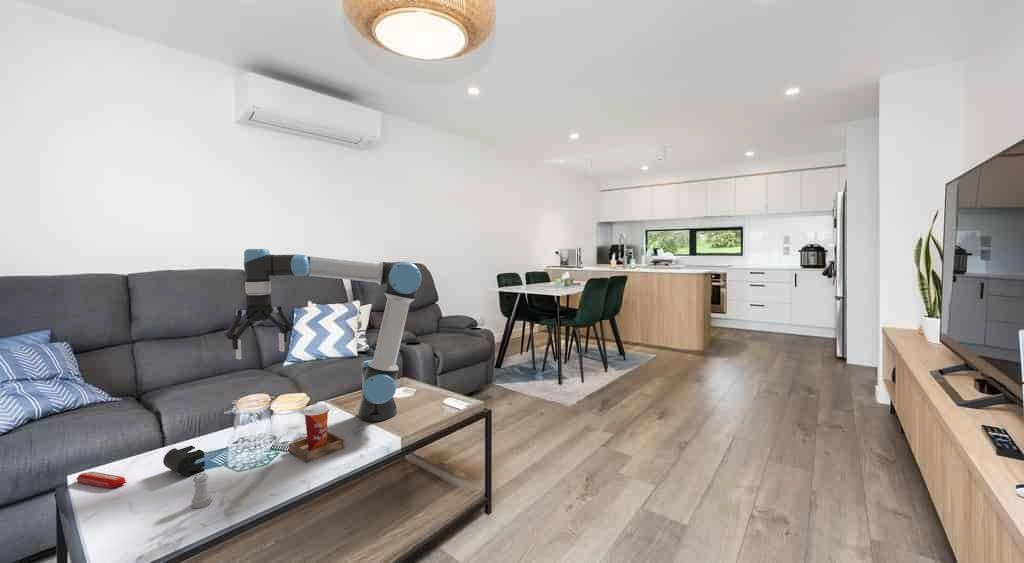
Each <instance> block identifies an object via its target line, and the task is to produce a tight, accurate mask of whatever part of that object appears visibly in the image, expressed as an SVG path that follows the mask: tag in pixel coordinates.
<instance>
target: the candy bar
mask: <svg viewBox="0 0 1024 563" xmlns="http://www.w3.org/2000/svg"><path fill="white" fill-rule="evenodd" d="M75 480H77V482H78V483H81V484H85V485H91V486H97V487H101V488H102V487H103V488H107V489H108V488H109V489H110V488H117V487H120V486H123V485H125V484H127V481H126V478H125V476H124V477H123V476H121V475H114V474H107V473H103V472H97V471H88V472H84V473H80V474H79V475H78V476H77V477H76V478H75Z"/></svg>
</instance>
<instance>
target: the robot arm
mask: <svg viewBox="0 0 1024 563" xmlns="http://www.w3.org/2000/svg"><path fill="white" fill-rule="evenodd" d="M243 270H244V287H245V288H244V290H245V294H246V295H245V309H239V308H238V309H235V311H234V317H233V319H232V321H231V324H230V325H229V327H228V328H227V331H226V333H225V335H224V338H225V339H228V340H230V341H231V345H232V348H231V349H232V350H235V358H236V360H238V361H239V360H242V359H243V358H242V340H241V339H240V337H241V336H242V334H243V333H244V332H245V331H246V330H247V329H248V327H249V326H250V324H252V323H253V322H260V321H266V320H267V321H268V322H269V323H271V324H272V326H274V327H275V328H276V329H277V330H278V331H280V332H278V351H279V352H282V353H283V352H286V351H285V350H286V349H285V343H286V342H287V341H288V338H287V337H288V336H287V334H288V332H290V331H292V330H293V327H292V325H291V324H290V322H289V321H288V319H287V318H286V316H285V315H284V313H283V309H282V306H280V305H276V306H274V307H273V306H272V304H273V303H272V294H270V293H271V292H272V287H271V286H272V285H271V277H303V276H306V277H307V276H308V277H316V278H317V277H319V278H327V279H328V278H329V279H340V280H348V281H349V280H350V281H359V282H370V283H376V284H378V286H383V287H384V286H385V289H384V292H383V294H384V295H385V297H386V303H385V307H384V312H383V317H382V320H381V325H380V327H379V328H380V329H379V333H378V338H377V340H376V346H375V350H374V353H373V358H372V359H368V360H364V361H363V362H361V368H360V370H361V389H362V394H361V396H362V397H361V398H362V399H361V402H360V406H359V409H358V411H357V412H358V414H357V415H358V417H357V418H358V419H359V420H360V421H364V422H380V421H385V420H389V419H391V418H394V417H395V416H396V415H397V412H398V410H397V405H396V402H395V399H394V396H395V394H396V392H397V391H396V390H397V377H398V374H399V366H398V365H397V359H398V356H399V352H400V349H401V344H402V338H403V334H404V329H405V326H406V322H407V318H408V313H409V309H410V305H411V303H412V302H414V301H415V300H416V296H417V292H418V289H419V287H420V286H421V284H422V273H421V271H420V269H419V267H418V266H417V265H416V264H415V263H412V262H410V261H392V262H391V261H390V262H389V261H386V262H385V261H381V262H379V263H373V262H364V261H355V260H346V259H338V258H337V259H335V258H328V257H319V256H309V255H306V254H298V253H297V254H271V253H270V250H269V249H267V248H247V249H245V250H244V252H243ZM273 312H274V313H275V314H276V315H277V317H278V318H279V320H280V322H281V323H282V324H281V323H279V322H278V321H277V320H276V319H275V317H273V315H272V314H273ZM245 315H246V318H245V319H244V320H243V322H242V324H241V325H240V326H239V327H238V325H239V324H240V322H241V320H242V317H244V316H245Z"/></svg>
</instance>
